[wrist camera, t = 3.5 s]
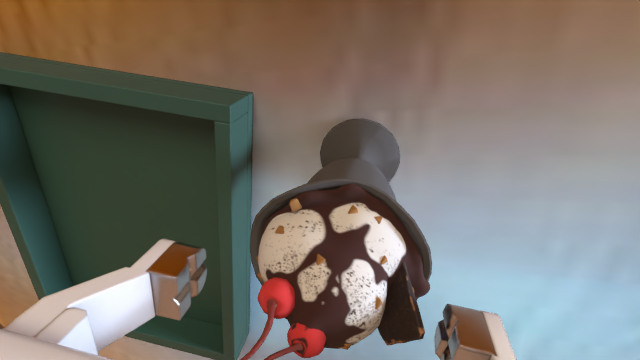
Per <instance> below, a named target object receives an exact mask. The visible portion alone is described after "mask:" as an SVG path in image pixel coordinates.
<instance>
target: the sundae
mask: <svg viewBox="0 0 640 360" xmlns="http://www.w3.org/2000/svg"><path fill="white" fill-rule="evenodd" d="M320 156H321V163H322V167H323V168H322V169H321V170H320V171H318V172H317V173H316V174H315V175H314V176H313V177H312V178H311V179H310V180H309V182H308V183H307V184H304V185H301V186H299V187H297V188H294V189H292V190H289V191H287V192H285V193H283V194H281V195H279V196H277V197H275V198H273V199H272V200H271V201H270V202H268V203H267V204H266V205H265V206H264V207H263V208H262V209H261V210H260V212H259V213H258V214H257V215H256V217H255V220H254V222H253V225H252V230H251V235H250V254H251V260H252V264H253V267H254V271H255V274H256V277H257V278H258V280H259V281H260V283H261V285H262V288H261V290H260V292H259V295H258V301H259V304H260V306H261V308H262V310H263V311H264V313H266V314H268V319H267V322H266V325H265V328H264V331H263V333H262V335H261V337H260V339H259V340H258V341H257V343H256V344H255V345H254V347H253V348H252V349H251V351H250V352H249V353H247V354H246V355H245V356H244V357H243V358H242V359H240V360H248V359H249V358H250V357H251V356H252V355H253V354H254V353H255V352H256V351H257V350H258V349H259V347H260V346H261V345H262V343H263V342H264V340H265V339H266V337H267V335H268V333H269V331H270V329H271V327H272V324H273V319H274V318H276V319H281V318H286V319H287V320H288V322H289V324H290V326H291V327H290V329H289V331H288V334H287V338H288V343H289V346H290V347H288V348H286V349H283V350H281V351H278V352H276V353H274V354H272V355H270V356H268V357H267V358H265V359H264V360H273V359H276V358H278V357H281V356H283V355H285V354H287V353H290V352H295V353H296V354H297V355H298V356H300V357H302V358H311V357H314V356H317V355H319V354H320V353H321V352H322V351H323V349H324V348H335V349H337V348H343V349H348V348H349V347H350V346H351V345H354V344H356V343H357V342H359V341H360V340H362V339H364V338H365V337H367V336H368V335H370V334H371V333H372V332H373V331H374V330H375V329H376V328H377V327H378V330H379V332H380V334H381V336H382V338H383V340H384V341H385V343H386V344H387V345H392V344H397V343H406V342H409V341H413V340H419V339H423V337H424V333H425V331H424V327H423V323H422V319H421V315H420V312H419V308H418V305H417V301H416V300H417V299H418V297H421V296H423V295H425V294H426V293H427V292H428V291H429V289H430V284H429V282H428V281H429V278H430V275H431V271H432V260H431V252H430V248H429V246H428V244H427V242H426V240H425V237H424V235H423V234H422V232H421V230H420V229H419V227H418V225H417V224H416V222H415V221H414V219H413V218H412V217H411V216H410V215H409V214H408V213H407V212H406V211H405V210H404V209H403V208H402V207H401V205H399V204H398V203H397V202H396V198H395V195H394V193H393V191H392V188H391V187H390V185H389V183H388V182H389V181H390V179H391V178H392V177H393V176H394V175H395V173H396V170H397V168H398V165H399V160H400V154H399V147H398V145H397V142H396V140H395V138H394V137H393V135H392V134H391V133H390V132H389V131H388V130H387V129H386V128H385V127H383V126H382V125H381V124H379V123H376V122H374V121H371V120H366V119H352V120H347V121H345V122H342V123H340V124H338V125H337V126H335V127H333V128H332V129H331V131H330V132H329V133H328V134H327V135H326V137H325V138H324V140H323V143H322V146H321V151H320Z"/></svg>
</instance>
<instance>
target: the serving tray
mask: <svg viewBox="0 0 640 360" xmlns="http://www.w3.org/2000/svg"><path fill="white" fill-rule="evenodd" d="M252 111H253V93H252V92H245V91H239V90H233V89H227V88H220V87H214V86H208V85H202V84H195V83H189V82H183V81H177V80H170V79H164V78H158V77H152V76H145V75H139V74H133V73H127V72H120V71H114V70H108V69H102V68H95V67H89V66H83V65H77V64H70V63H64V62H58V61H52V60H45V59H39V58H33V57H27V56H20V55H14V54H8V53H2V52H0V204H1V207H2V209H3V212H4V214H5V217H6V219H7V222H8V224H9V227H10V229H11V232H12V234H13V237H14V239H15V242H16V244H17V247H18V249H19V252H20V254H21V257H22V259H23V261H24V264H25V266H26V269H27V271H28V274H29V276H30V279H31V281H32V284H33V286H34V289H35V291H36V294H37V296H38V299H39V300H40V299H41V298H43V297H45V296H48V295H51V294H53V293H56V292H59V291H62V290H64V289H67V288H70V287H72V286H75V285H78V284H81V283H83V282H86V281H89V280H91V279H94V278H97V277H100V276H102V275H105V274H108V273H110V272H113V271H116V270H119V269H121V268H124V267H129V268H130V267H131V266H132V265H133V264H134V263H135V262H137V261H138V260H139V259H140V258H141V257H142V256H143V255H144V254H145V253H146V252H147V251H148V250H149V249H150V248H151V247H152V246H154V245H155V244H156V243H157V242H158V241H159V240H161V239H164V238H165V239H168V240H172V241H176V242H181V243H185V244H189V245H193V246H197V247H201V248H204V249H205V250H206V259H205V260H204V261H203V263H204V265H205V266H206V267H207V276H206V281H205V283H204V286H203V288H202V290H201V291H200V293H199V294H198V295H197V296H195V297H193V298H191V306H190V307H189V308H188V310H187V311H186V313H185V314H184V316H183V317H182V318H181V320H175V319H171V318H166V317H162V316H157V315H155V317H154V318H152V319H150V320H149V321H147V322H146V323H144V324H142V325H141V326H139V327H137V328H136V329H134V330H133V331H131V332H129V333H128V334H126V335H124V336H127V337H131V338H134V339H138V340H142V341H146V342H150V343H154V344H157V345H161V346H165V347H169V348H173V349H177V350H180V351H184V352H188V353H192V354H196V355H200V356H203V357H207V358H211V359H215V360H237V358H238V356H239V354H240V352H241V349H242V347H243V345H244V343H245V340H246V338H247V336H248V333H249V316H250V235H251V179H252Z"/></svg>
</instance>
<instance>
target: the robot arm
mask: <svg viewBox="0 0 640 360" xmlns="http://www.w3.org/2000/svg"><path fill="white" fill-rule="evenodd" d="M205 259H206V250H205V249H204V248H201V247H197V246H193V245H189V244H185V243H181V242H176V241H172V240H168V239H165V238H164V239H161V240H159V241H158V242H157V243H156V244H155V245H154V246H152V247H151V248H150V249H149V250H148V251H147V252H146V253H145V254H144V255H143V256H142V257H141V258H140V259H139V260H138V261H137V262H135V263H134V264H133V265H132V266H131V267H130V268H129V267H124V268H121V269H119V270H116V271H113V272H110V273H108V274H105V275H102V276H100V277H97V278H94V279H91V280H89V281H86V282H83V283H81V284H78V285H75V286H72V287H70V288H67V289H64V290H62V291H59V292H56V293H53V294H51V295H48V296H45V297H43V298H41V299H40V300H39V301H38V302H36V303H35V304H34V305H33V306H31V307H30V308H29V309H27V310H26V311H25V312H24V313H22V314H21V315H20V316H19V317H17V318H16V319H15V320H14V321H12V322H11V323H10V324H9V325H7V326H6V327H5V328H3V329H1V328H0V360H113V359H110V358H106V357H102V356H99V354H98V351H100V350H102V349H103V348H105V347H106V346H108V345H110V344H111V343H113V342H115V341H116V340H118V339H120V338H121V337H123V336H124V335H126V334H128V333H129V332H131V331H133V330H134V329H136V328H137V327H139V326H141V325H142V324H144V323H146V322H147V321H149V320H150V319H152V318H154V317H155V315H157V316H162V317H166V318H171V319H175V320H181V318H182V317H183V316H184V314H185V313H186V311H187V310H188V308H189V307H190V306H191V298H193V297H195V296H197V295H198V294H199V293H200V291H201V290H202V288H203V286H204V283H205V281H206V276H207V267H206V266H205V265H204V263H203V261H204V260H205ZM443 317H444V319H443V320H442V321H440V322H439V323H438V325H437V328H436V332H435V352H436V354H437V356H438V357H439V358H440V360H517V359H516V357H515V354H514V352H513V349H512V346H511V344H510V341H509V339H508V336H507V334H506V331H505V328H504V326H503V323H502V321H501V318H500V316H499V315H498V314H494V313H489V312H485V311H479V310H474V309H470V308H465V307H461V306H456V305H452V304H447V305H446V306H445V308H444V310H443Z"/></svg>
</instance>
